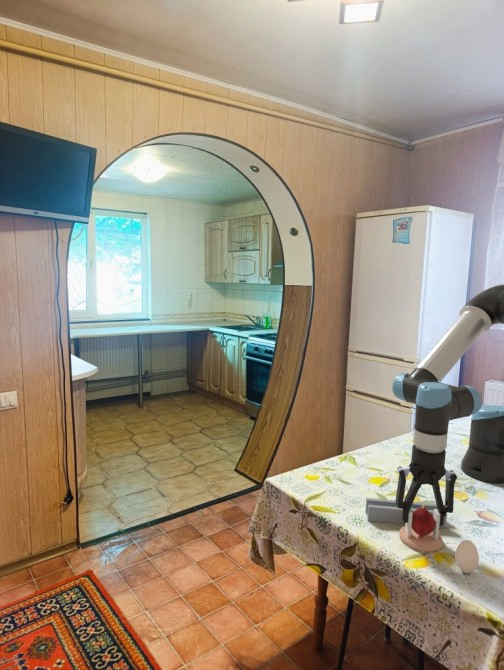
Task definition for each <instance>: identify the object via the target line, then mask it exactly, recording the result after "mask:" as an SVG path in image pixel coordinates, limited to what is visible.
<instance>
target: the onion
mask: <svg viewBox="0 0 504 670" xmlns="http://www.w3.org/2000/svg"><path fill="white" fill-rule="evenodd" d="M434 527H435V520H434V518H433V516H432V514H431V513H430V512H429V511H428V510H426V506H424V505H423V506H422V507H421V508H420V509H417V510H415V511H414V512H413V515H412V529H413V530H414V532H415V533H417V534H418V535H419V536H426V535H429V534H430V533H432V531H433V530H434Z"/></svg>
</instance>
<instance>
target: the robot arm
mask: <svg viewBox="0 0 504 670" xmlns="http://www.w3.org/2000/svg"><path fill="white" fill-rule="evenodd" d="M497 324H502V325H504V284H498V285H494V286H491V287H489V288H486V289H484V290H483V291H481V292H479V293H478V294H476V295H475V296H474V297H472V298H471V299H470V300H469V301H468V302H466V303H465V305H463V307H462V308H461V309H460V311H459V317H458V318H457V320H456V321H454V323H453V324H452V325H451V326H450V327H449V329H448V330H447V331H446V332H445V333H444V335H443V336H441V338H440V339H439V340H438V341H437V342H436V343H435V345H434V346H433V347H432V348H431V349H430V350H429V352H428V353H426V354H427V355H425V356H424V358H423V359H421V361H420V362H419V363H418V365H417V366H415V368H414V369H413V370H412V371H411V373H407V372H406V373H405V372H402V373H399V374H397V375H396V376H395V377H394V379H393V382H392V385H391V389H392V393H393V395H394V396H395V397H396V398H397V399H399V400H402V402H403V401H404V402H405V403H410V404H414V405H415V414H414V415H415V416H414V424H413V425H414V427H413V428H414V429H413V437H412V443H413V445H412V448H411V457H410V458H411V459H410V463H409V464H408V466H406V467H402V466H401V465H400V466H397V473H398V478H397V479H398V480H397V481H398V482H397V488H396V495H395V500H396V504H397V507H398V508H399V509H403V512H402V519H403V521H404V522H405V523H406V524H404V526H405V532H406V534H407V537H411V527H412V515H413V512H412V510H411V506H412V504H413V502H415V499H416V496H417V494H418V492H419V490H420V489H421V487H422V485H430V486H432V487H431V488H432V490H433V495H434V500H435V504H436V505H437V508H438V510H437V509H434V512H433V518H434V520H435V527H434V530H433V531H432V535H433V537H434V539H436V540H438V534H439V533H440V532H439V531H440V527H439V526H443V523H444V516H446V513H447V514H448V513H449V514H451V513H453V512H454V503H455V502H454V500H455V483H456V482H457V479H458V475H457V474H456V473H455V471H454V470H451V469H450V470H447V469H446V468H445V464H446V455H447V451H446V449H447V445H448V444H447V443H448V432H449V431H448V430H449V423H450V421H453V420H457V419H462V418H468V417H470V416H471V417H470V421H471V422H470V430H469V442H468V448H467V450H466V452H465V454H463V457H462V460H461V463H460V469H461V471H462V472H463V473H465V474H466V475H467V476H469V477H471V478H474V479H476V480H479V481H482V482H486V483H492V484H504V405H499V404H497V405H496V404H483V398H482V395H481V394H480V392H479V391H478V390H477V388H475V387H473V386H471V385H464V384H463V385H462V384H461V385H459V386H455V385H451V384H448V383H444V382H442V381H443V380H444V379H445V378H446V376H447V375H448V374H449V373H450V371H451V370H452V369H453V368H454V367H455V365H457V363H458V362H459V360H460V359H461V358H462V357H463V355H464V354H466V353H467V351H468V350H469V349H470V347H471V346H472V345H473V344H474V342H475V341H476V340H477V339H478V337H480V335H481V334H482V333H483V332H487V331H489V330H490V329H491V328H492V327H493V326H495V325H497ZM409 473H411V475H412V476H413V477H412V479H411V483H410V486H409V488H408V491H407V493H406V495H405V492H406V484H407V478H408V477H409ZM443 477H444V478H445V492H444V493H445V494H444V495H445V496H444V501H443V497H442V492H441V487H440V486H441V485H440V482H439V481H440V480H441V479H443ZM403 501H404V502H403ZM439 535H440V534H439Z"/></svg>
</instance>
